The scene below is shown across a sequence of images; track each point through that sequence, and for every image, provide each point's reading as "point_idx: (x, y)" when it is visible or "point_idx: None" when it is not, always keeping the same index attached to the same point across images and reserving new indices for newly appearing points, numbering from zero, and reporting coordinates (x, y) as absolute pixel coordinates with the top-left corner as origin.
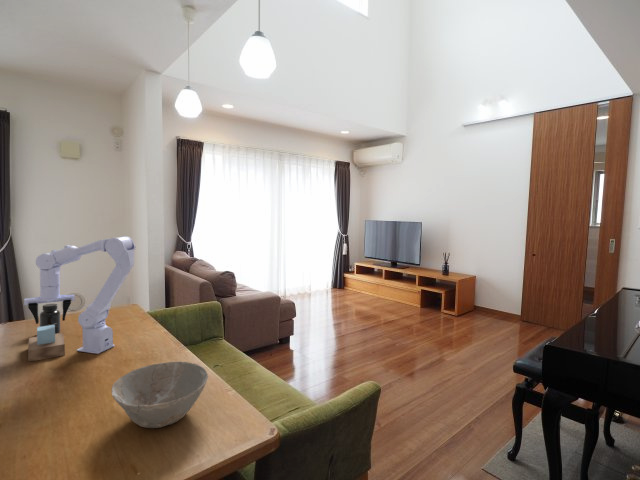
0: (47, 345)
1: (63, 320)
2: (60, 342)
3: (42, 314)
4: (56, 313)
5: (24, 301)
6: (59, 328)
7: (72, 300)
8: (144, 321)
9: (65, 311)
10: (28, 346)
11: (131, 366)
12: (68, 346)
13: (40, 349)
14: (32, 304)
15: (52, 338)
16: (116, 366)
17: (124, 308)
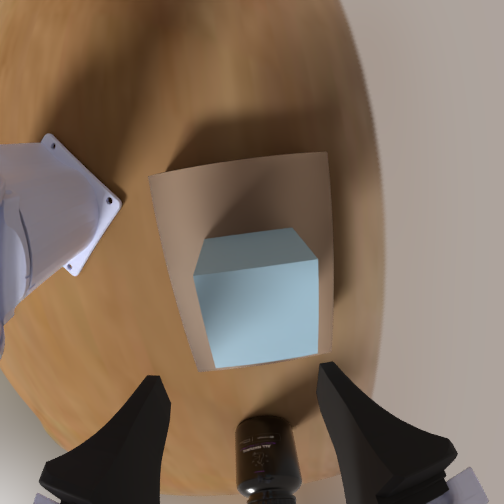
0: (237, 190)
1: (152, 376)
2: (174, 218)
3: (293, 481)
4: (246, 484)
5: (483, 491)
6: (236, 437)
7: (47, 500)
8: (29, 398)
9: (112, 428)
10: (331, 220)
11: (8, 20)
12: (170, 286)
13: (268, 156)
14: (416, 496)
15: (216, 245)
16: (29, 19)
17: None
